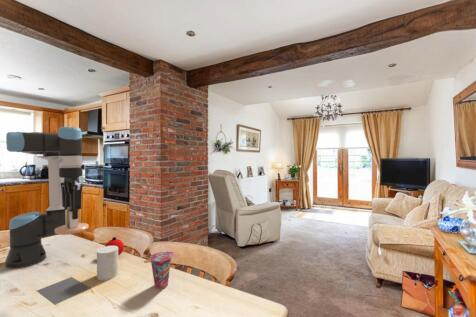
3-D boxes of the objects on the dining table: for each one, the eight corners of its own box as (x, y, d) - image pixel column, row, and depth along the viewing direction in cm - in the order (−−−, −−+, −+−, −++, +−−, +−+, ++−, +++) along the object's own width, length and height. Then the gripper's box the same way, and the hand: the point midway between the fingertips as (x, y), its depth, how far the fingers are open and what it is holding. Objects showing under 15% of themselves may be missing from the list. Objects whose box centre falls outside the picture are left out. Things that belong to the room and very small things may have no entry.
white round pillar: (109, 282, 99) (109, 253, 98) (92, 280, 100) (92, 252, 100) (122, 273, 107) (122, 246, 106) (106, 271, 108) (106, 245, 108)
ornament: (123, 258, 121) (123, 239, 121) (103, 261, 118) (103, 241, 117) (124, 251, 129) (124, 233, 129) (105, 254, 126) (105, 235, 126)
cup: (164, 293, 91) (163, 262, 91) (145, 289, 94) (145, 258, 94) (177, 280, 100) (177, 252, 100) (160, 277, 103) (160, 249, 103)
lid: (49, 231, 93) (49, 207, 93) (81, 224, 102) (80, 202, 102) (61, 236, 87) (61, 211, 86) (93, 228, 96) (93, 205, 95)
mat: (36, 292, 92) (36, 290, 92) (71, 278, 102) (71, 276, 102) (55, 306, 84) (54, 304, 84) (91, 289, 94) (91, 288, 94)
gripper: (51, 166, 95) (52, 225, 95) (69, 168, 86) (70, 232, 87) (72, 165, 101) (73, 221, 102) (91, 167, 92) (92, 227, 93)
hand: (72, 226), depth 94 cm, fingers closed on lid, 3 cm apart
